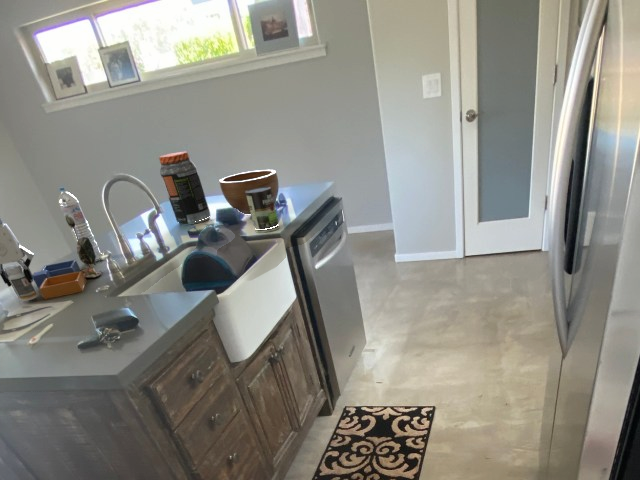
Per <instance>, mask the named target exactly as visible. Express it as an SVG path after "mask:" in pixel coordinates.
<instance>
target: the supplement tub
mask: <svg viewBox="0 0 640 480" xmlns="http://www.w3.org/2000/svg"><path fill="white" fill-rule="evenodd" d="M158 159H159V163H160V165H161V166H160V169H159V174H160V177H161V180H162V182H163V185H164V188H165V191H166V195H167V197H168V200H169V203H170V206H171V208H172V211H173V214H174V217H175V220H176V222H177V223H178V222H179V223H178V224H180V225H183V226H186V225H187V226H188V225H194V224H199V223H202V222H205V221H207V220H209V219H210V218H211V211H210V208H209V205H208V201H207V198H206V195H205V192H204V188H203V184H202V182H201V179H200V175H199V171H198V168H197V166H196V165H195V163H194V162H193V161H192V160H191V158H190V156H189V153H188V151H177V152H173V153H166V154H163V155H160V156H159V157H158ZM209 216H210V217H209ZM207 217H209V218H207ZM205 218H207V219H205ZM202 219H204V220H202ZM199 220H201V221H199ZM195 221H196V222H195Z"/></svg>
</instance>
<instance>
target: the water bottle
mask: <svg viewBox="0 0 640 480" xmlns="http://www.w3.org/2000/svg"><path fill="white" fill-rule="evenodd" d="M58 190H59V192H60V194H59V195H58V198H57V204H58V207H59V208H60V210H61V212H62V214H63V217H64V219H65V220H66V217H65V216H66V215H69V216H71V217H72V218H73V220H74V222H75V226H74V228H75V231H76V233H77V236H78V239H80V237H87V238H88V239H89V240H90V242H91V244H92V246H93V249H94V252H95V255H96V258H95V263H97V262H100V261H99V257H100V254H102V252H101V250H100V247H99V245H98V243H97V241H96V238H95V236H94V233H93V232H92V230H91V227H90V225H89V223H88V221H87V219H86V216H85V214H84V212H83V210H82V208H81V205H80V203H79V200H78V199H77V197H76V196H74V195H73V194H71V193H70V192H68V191H66V187H64V186H61V187H58ZM68 228H69V230H70V232H71V234H72V237H73V238H74V241H75V243H76V244H77V241H78V239H77V236H76V233H75V231H74V228H73V227H72V229H71V227H70V226H69V225H68Z"/></svg>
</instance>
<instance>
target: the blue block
mask: <svg viewBox="0 0 640 480" xmlns="http://www.w3.org/2000/svg"><path fill="white" fill-rule="evenodd" d="M32 275H33V277H34V279H33V282H34V283H35V285H36V287H37V289H38V290H39V288H40V286H41V285H42V283H43V281H44V280H45V278H49V277H51V275H50V273H49V271H48V270H45V271H41V270H40V271H36V272H33V273H32Z"/></svg>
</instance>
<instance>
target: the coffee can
mask: <svg viewBox="0 0 640 480" xmlns="http://www.w3.org/2000/svg"><path fill="white" fill-rule="evenodd" d="M245 193H246V196H247V200H248V204H249V208H250V212H251V216H250V217H251V219H252V223H253V227H254V232H255V233H256V234H257V233H259V234H261V233H271V232H274V231H277V230H279V229H280V225H279V226H277V227H275V228H272V229H267V230H255V228H256V229H265V228H270V227H273V226H276V225H277V224H278V223H279V218H278V214H277V210H276V204H275V203H274V200H273V195H272V189H271V187H259V188H254V189H250V190H247V191H246V192H245ZM279 224H280V223H279Z"/></svg>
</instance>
